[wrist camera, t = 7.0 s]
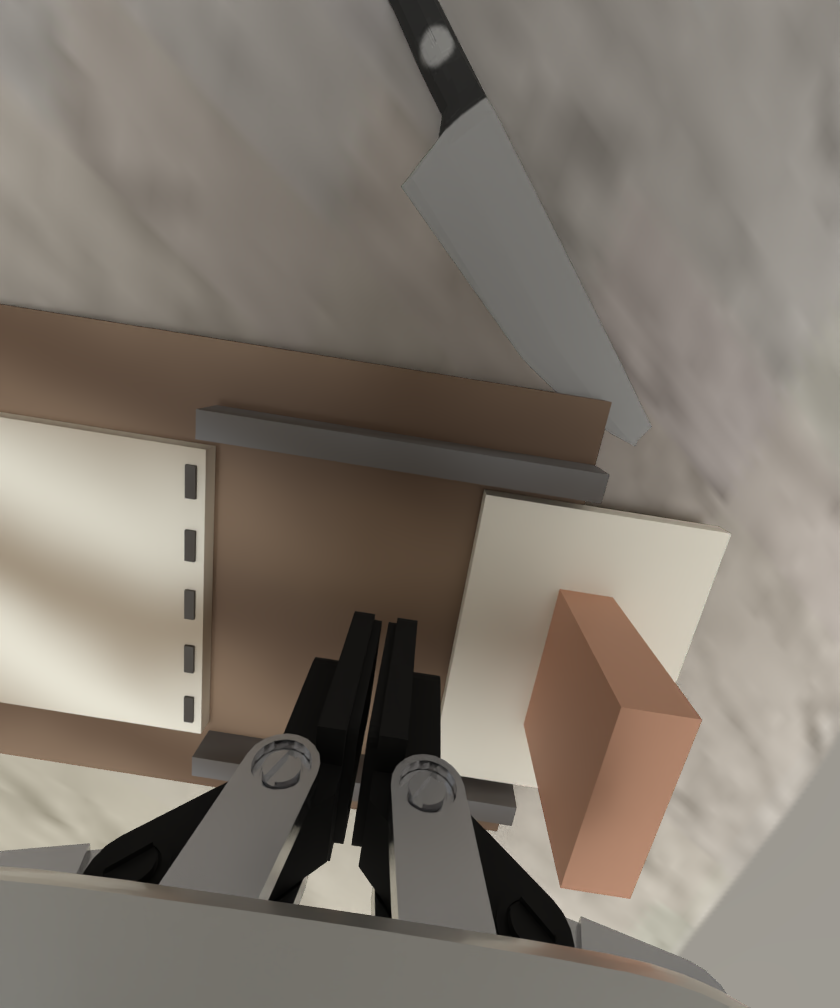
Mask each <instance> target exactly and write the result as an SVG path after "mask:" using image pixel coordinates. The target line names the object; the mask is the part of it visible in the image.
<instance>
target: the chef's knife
mask: <svg viewBox="0 0 840 1008" xmlns="http://www.w3.org/2000/svg"><path fill="white" fill-rule="evenodd" d="M389 2H390V3H391V5H392V7H393V9H394V11H395V13H396V16H397V18H398V20H399V23H400V25H401V27H402V30H403V32H404V34H405V36H406V39H407V41H408V43H409V46H410V48H411V50H412V52H413V55H414V57H415V59H416V62H417V64H418V66H419V69H420V71H421V73H422V75H423V77H424V79H425V81H426V83H427V85H428V87H429V89H430V92H431V94H432V96H433V98H434V100H435V102H436V104H437V106H438V108H439V110H440V112H441V114H442V121H441V127H440V133H439V139H438V140H437V142H436V143H435V144H434V145H433V147H432V148H431V149H430V150H429V152H428V153H427V154H426V155H425V157H424V158H423V159H422V160H421V162H420V163H419V164H418V166H417V167H416V168H415V169H414V171H413V172H412V173H411V175H410V176H409V177H408V179H407V180H406V181H405V182H404V184H403V185H402V186H401V187H402V189H403V190H404V192H405V193H406V194H407V196H408V197H409V199H410V200H411V202H412V203H413V204H414V206H415V207H416V209H417V210H418V212H419V213H420V214H421V216H422V217H423V219H424V220H425V221H426V223H427V224H428V226H429V227H430V229H431V230H432V231H433V233H434V234H435V236H436V237H437V238H438V240H439V241H440V243H441V244H442V246H443V247H444V248H445V250H446V251H447V253H448V254H449V255H450V257H451V258H452V260H453V261H454V263H455V264H456V265H457V267H458V268H459V270H460V271H461V273H462V274H463V275H464V277H465V278H466V280H467V281H468V282H469V284H470V285H471V287H472V288H473V290H474V291H475V292H476V294H477V295H478V297H479V298H480V299H481V301H482V302H483V304H484V305H485V307H486V308H487V309H488V311H489V312H490V314H491V315H492V317H493V318H494V319H495V321H496V322H497V324H498V325H499V326H500V328H501V329H502V331H503V332H504V334H505V335H506V336H507V338H508V339H509V341H510V342H511V343H512V345H513V346H514V348H515V349H516V351H517V352H518V353H519V355H520V356H521V357H522V358H523V359H524V361H525V362H526V363H527V364H528V365H529V366H530V367H531V368H532V369H533V370H534V371H535V372H536V373H537V374H538V375H539V376H540V377H541V378H542V379H543V380H544V381H545V382H546V383H547V384H549V385H550V386H551V387H552V388H553V389H554V390H555V391H556V392H557V393H562V394H568V395H575V396H581V397H587V398H593V399H600V400H605V401H609V402H612V404H611V408H610V412H609V415H608V419H607V423H606V426H605V430H607V431H608V432H609V433H611V434H612V435H614V436H616V437H618V438H620V439H622V440H624V441H626V442H628V443H630V444H632V445H634V446H636V443H637V441H638V440H639V439H640V438H641V437H642V436H643V435H644V434H645V433H646V432H647V431H648V430H649V429H650V428H651V427H652V426H651V424H650V422H649V420H648V418H647V416H646V414H645V412H644V410H643V408H642V406H641V403H640V401H639V399H638V397H637V395H636V393H635V391H634V389H633V387H632V385H631V383H630V381H629V379H628V377H627V375H626V372H625V370H624V368H623V366H622V364H621V362H620V360H619V358H618V356H617V354H616V352H615V350H614V348H613V346H612V344H611V342H610V340H609V338H608V336H607V334H606V332H605V330H604V328H603V326H602V324H601V322H600V320H599V318H598V316H597V314H596V312H595V310H594V308H593V306H592V304H591V302H590V300H589V298H588V296H587V294H586V292H585V290H584V288H583V286H582V284H581V282H580V280H579V278H578V276H577V274H576V272H575V270H574V268H573V266H572V264H571V262H570V260H569V258H568V256H567V254H566V252H565V250H564V248H563V246H562V244H561V242H560V240H559V238H558V236H557V234H556V232H555V230H554V228H553V226H552V224H551V222H550V220H549V218H548V216H547V214H546V212H545V210H544V208H543V206H542V204H541V202H540V200H539V198H538V196H537V194H536V192H535V190H534V188H533V186H532V184H531V182H530V180H529V178H528V176H527V174H526V172H525V170H524V168H523V166H522V164H521V162H520V160H519V158H518V156H517V154H516V152H515V150H514V148H513V146H512V144H511V142H510V140H509V138H508V136H507V134H506V132H505V130H504V128H503V126H502V124H501V122H500V120H499V118H498V116H497V114H496V112H495V110H494V108H493V107H492V105H491V104H490V102H489V101H488V99H487V97H486V95H485V93H484V91H483V89H482V87H481V85H480V83H479V81H478V79H477V77H476V75H475V73H474V71H473V69H472V67H471V65H470V63H469V61H468V59H467V57H466V55H465V53H464V51H463V49H462V47H461V46H460V44H459V42H458V40H457V38H456V36H455V34H454V32H453V30H452V28H451V26H450V24H449V22H448V20H447V18H446V16H445V14H444V12H443V10H442V8H441V6H440V4H439V2H438V0H389Z"/></svg>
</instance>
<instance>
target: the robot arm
mask: <svg viewBox="0 0 840 1008" xmlns="http://www.w3.org/2000/svg"><path fill="white" fill-rule="evenodd" d="M417 623H418V621H417V620H411V619H404V618H397V623H393V622H389V623H388V628H387V634H386V639H385V644H384V650H383V655H382V660H381V666H380V671H379V676H378V682H377V687H376V692H375V697H374V703H373V708H372V713H371V719H370V724H369V730H368V736H367V742H366V749H365V756H364V763H363V769H362V776H361V783H360V790H359V797H358V804H357V811H356V817H355V824H354V831H353V838H352V845H354V846H360V847H362V848H361V854H360V861H359V868H360V869H361V870H362V872H363V873H364V875H365V876H366V878H367V879H368V881H369V882H370V883H371V885H372V886H373V888H372V896H371V915H364V914H358V913H351V912H344V911H338V910H331V909H324V908H317V907H310V906H304V905H299V903H300V901H301V898H302V896H303V893H304V891H305V888H306V883H307V879H308V875H309V874H311V873H312V872H313V871H315V870H316V869H317V868H319V867H320V866H322V865H323V864H324V863H326V862H327V861H330V858H331V853H332V848H333V844H334V843H340V844H343V843H344V838H345V833H346V828H347V823H348V818H349V813H350V808H351V803H352V797H353V792H354V787H355V782H356V777H357V772H358V767H359V762H360V756H361V751H362V746H363V741H364V736H365V731H366V726H367V721H368V715H369V709H370V703H371V696H372V689H373V683H374V676H375V669H376V662H377V655H378V648H379V641H380V634H381V627H382V621H380V620H375V614H372V613H365V612H359V611H355V612H354V615H353V618H352V621H351V624H350V627H349V630H348V633H347V637H346V640H345V643H344V646H343V649H342V652H341V655H340V658H339V660H333V659H326V658H320V657H315V658H314V660H313V662H312V665H311V667H310V670H309V672H308V674H307V677H306V679H305V682H304V684H303V687H302V689H301V692H300V694H299V697H298V699H297V702H296V704H295V706H294V709H293V711H292V714H291V716H290V719H289V721H288V724H287V726H286V729H285V731H284V733H283V734H277V735H274V736H271V737H268V738H265V739H263V740H262V741H260V742H259V743H257V744H256V745H254V747H253V748H252V749H251V750H250V751H249V752H248V753H247V755H246V756H245V758H244V759H243V761H242V762H241V764H240V765H239V766H238V768H237V769H236V771H235V772H234V774H233V775H232V777H231V778H230V780H229V781H228V782H226V783H224V784H222V785H220V786H218V787H216V788H214V789H212V790H210V791H208V792H206V793H204V794H202V795H201V796H199V797H197V798H195V799H193V800H191V801H189V802H187V803H185V804H183V805H181V806H179V807H177V808H175V809H173V810H171V811H169V812H167V813H165V814H163V815H161V816H159V817H157V818H155V819H154V820H152V821H150V822H148V823H146V824H144V825H142V826H140V827H138V828H136V829H134V830H132V831H130V832H128V833H126V834H124V835H122V836H120V837H119V838H117V839H116V840H114V841H113V842H111V843H110V844H108V845H106V846H105V847H104V848H103V849H100V850H90V843H88V844H77V845H65V846H54V847H42V848H30V849H19V850H7V851H0V1008H749V1007H748V1006H746V1005H745V1004H742V1003H741V1002H739V1001H738V1000H736V999H734V998H732V997H731V996H729V995H727V993H726V992H725V991H724V989H723V988H722V986H721V985H720V984H719V983H718V982H717V981H716V980H715V979H714V978H713V977H712V976H711V975H710V974H709V973H707V971H706V970H704V969H703V968H701V967H699V966H698V965H696V964H694V963H692V962H691V961H689V960H686V959H684V958H682V957H679V956H677V955H674V954H672V953H669V952H667V951H665V950H662V949H660V948H657V947H655V946H652V945H650V944H647V943H645V942H642V941H640V940H638V939H635V938H633V937H630V936H628V935H625V934H623V933H620V932H618V931H616V930H613V929H611V928H608V927H606V926H603V925H601V924H598V923H596V922H593V921H591V920H589V919H586V918H584V917H580V920H579V922H575V921H573V920H571V919H568V918H566V917H565V916H564V914H563V912H562V911H561V910H560V908H559V907H558V906H557V904H556V903H555V902H554V901H553V899H552V898H551V897H550V896H549V895H548V894H547V893H546V892H545V891H544V890H543V889H542V888H541V887H540V886H539V885H538V884H537V883H536V882H535V881H534V880H533V879H532V878H531V877H530V876H529V875H528V874H527V872H526V871H525V870H524V869H523V868H522V867H521V866H520V865H519V864H518V863H517V862H516V861H515V860H514V859H513V858H512V857H511V856H510V855H509V854H508V853H507V852H506V851H505V850H504V849H503V848H502V847H501V846H500V844H499V843H498V842H497V841H496V840H495V839H494V838H493V837H492V836H491V835H490V834H489V833H488V832H487V831H486V830H485V829H484V828H483V827H482V826H481V825H480V824H479V823H478V822H477V821H476V820H475V819H474V817H473V816H472V815H471V814H470V810H469V805H468V801H467V796H466V792H465V787H464V784H463V781H462V779H461V776H460V775H459V773H458V772H457V771H456V769H455V768H454V767H453V766H452V765H450V764H449V763H448V762H446V761H445V760H443V759H441V681H440V676H437V675H431V674H424V673H418V672H414V660H415V647H416V635H417Z"/></svg>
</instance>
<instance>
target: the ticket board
mask: <svg viewBox="0 0 840 1008" xmlns="http://www.w3.org/2000/svg"><path fill="white" fill-rule="evenodd" d="M611 404H612V402H609V401H605V400H600V399H593V398H587V397H581V396H575V395H568V394H562V393H556V392H549V391H543V390H537V389H531V388H524V387H518V386H512V385H505V384H499V383H493V382H487V381H480V380H474V379H468V378H462V377H455V376H449V375H443V374H436V373H430V372H424V371H418V370H411V369H405V368H399V367H393V366H386V365H380V364H374V363H367V362H361V361H355V360H349V359H342V358H336V357H330V356H323V355H317V354H311V353H305V352H298V351H292V350H286V349H280V348H273V347H267V346H261V345H254V344H248V343H242V342H236V341H229V340H223V339H217V338H210V337H204V336H198V335H192V334H185V333H179V332H173V331H167V330H160V329H154V328H148V327H141V326H135V325H129V324H123V323H116V322H110V321H104V320H97V319H91V318H85V317H79V316H72V315H66V314H60V313H54V312H47V311H41V310H35V309H28V308H22V307H16V306H10V305H3V304H0V753H2V754H9V755H15V756H21V757H28V758H34V759H40V760H47V761H53V762H59V763H66V764H72V765H78V766H85V767H91V768H98V769H104V770H110V771H117V772H123V773H129V774H136V775H142V776H148V777H155V778H161V779H167V780H174V781H180V782H187V783H193V784H199V785H206V786H212V787H218V786H220V785H222V784H224V783H226V782H228V781H229V780H230V778H231V777H232V775H233V774H234V772H235V771H236V769H237V768H238V766H239V765H240V764H241V762H242V761H243V759H244V758H245V756H246V755H247V753H248V752H249V751H250V750H251V749H252V748H253V747H254V745H256V744H257V743H259V742H260V741H262V740H263V739H265V738H268V737H271V736H274V735H277V734H283V733H284V731H285V729H286V726H287V724H288V721H289V719H290V716H291V714H292V711H293V709H294V706H295V704H296V702H297V699H298V697H299V694H300V692H301V689H302V687H303V684H304V682H305V679H306V677H307V674H308V672H309V670H310V667H311V665H312V662H313V660H314V658H315V657H320V658H326V659H333V660H339V658H340V655H341V652H342V649H343V646H344V643H345V640H346V637H347V633H348V630H349V627H350V624H351V621H352V618H353V615H354V612H355V611H359V612H365V613H372V614H375V620H380V621H382V627H381V634H380V641H379V648H378V655H377V662H376V669H375V676H374V683H373V689H372V696H371V703H370V709H369V715H368V721H367V726H366V731H365V736H364V741H363V746H362V751H361V756H360V762H359V767H358V772H357V777H356V782H355V787H354V792H353V797H352V803H351V808H352V809H357V804H358V797H359V790H360V783H361V776H362V769H363V763H364V756H365V749H366V742H367V736H368V730H369V724H370V719H371V713H372V708H373V703H374V697H375V692H376V687H377V682H378V676H379V671H380V666H381V660H382V655H383V650H384V644H385V639H386V634H387V628H388V623H389V622H393V623H397V618H404V619H411V620H417V621H418V623H417V635H416V647H415V660H414V672H418V673H424V674H431V675H437V676H440V681H441V703H442V698H443V693H444V688H445V683H446V678H447V673H448V668H449V663H450V658H451V653H452V648H453V643H454V638H455V633H456V628H457V623H458V618H459V613H460V608H461V603H462V598H463V593H464V588H465V583H466V578H467V573H468V568H469V563H470V558H471V553H472V548H473V543H474V538H475V533H476V528H477V523H478V518H479V513H480V508H481V503H482V498H483V493H484V489H486V490H492V491H499V492H505V493H511V494H518V495H524V496H530V497H536V498H543V499H549V500H555V501H562V502H568V503H574V504H581V505H585V501H588V502H594V503H602V500H603V496H604V492H605V489H606V485H607V482H608V478H609V474H607V473H606V472H604V471H603V470H601V469H600V468H598V467H597V466H595V464H596V460H597V456H598V453H599V449H600V445H601V441H602V438H603V434H604V430H605V426H606V423H607V419H608V415H609V412H610V408H611ZM461 779H462V781H463V784H464V787H465V792H466V796H467V801H468V805H469V810H470V814H471V815H472V816H473V817H474V819H475V820H476V821H477V822H478V823H479V824H480V825H481V826H482V827H483V828H484V829H485V830H492V831H497V830H498V826H499V824H503V825H509V826H512V822H513V819H514V815H515V812H516V802H515V796H514V790H513V784H508V783H502V782H496V781H489V780H483V779H477V778H470V777H464V776H461Z"/></svg>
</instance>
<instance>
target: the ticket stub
mask: <svg viewBox="0 0 840 1008" xmlns="http://www.w3.org/2000/svg"><path fill="white" fill-rule="evenodd" d="M730 536H731V533H729V532H728V531H726V530H724V529H723V528H721V527H719V526H713V525H706V524H700V523H694V522H688V521H681V520H675V519H669V518H662V517H656V516H650V515H643V514H637V513H631V512H625V511H618V510H612V509H606V508H599V507H593V506H587V505H581V504H574V503H568V502H562V501H555V500H549V499H543V498H536V497H530V496H524V495H518V494H511V493H505V492H499V491H492V490H486V489H484V493H483V498H482V503H481V508H480V513H479V518H478V523H477V528H476V533H475V538H474V543H473V548H472V553H471V558H470V563H469V568H468V573H467V578H466V583H465V588H464V593H463V598H462V603H461V608H460V613H459V618H458V623H457V628H456V633H455V638H454V643H453V648H452V653H451V658H450V663H449V668H448V673H447V678H446V683H445V688H444V693H443V698H442V703H441V759H443V760H445V761H446V762H448V763H449V764H450V765H452V766H453V767H454V768H455V769H456V771H457V772H458V773H459V775H460V776H464V777H470V778H477V779H483V780H489V781H496V782H502V783H508V784H515V785H521V786H527V787H534V788H538V791H539V795H540V800H541V804H542V809H543V813H544V817H545V822H546V826H547V831H548V835H549V840H550V844H551V848H552V853H553V857H554V862H555V866H556V871H557V875H558V879H559V884H560V888H565V889H571V890H577V891H584V892H590V893H596V894H603V895H609V896H616V897H622V898H628V899H630V898H631V895H632V893H633V890H634V888H635V886H636V883H637V881H638V878H639V876H640V873H641V871H642V868H643V866H644V863H645V861H646V858H647V856H648V853H649V851H650V848H651V846H652V843H653V841H654V838H655V836H656V833H657V831H658V828H659V826H660V823H661V821H662V818H663V816H664V813H665V811H666V808H667V806H668V804H669V801H670V799H671V796H672V794H673V791H674V789H675V786H676V784H677V781H678V779H679V776H680V774H681V771H682V769H683V766H684V764H685V761H686V759H687V756H688V754H689V751H690V749H691V746H692V744H693V741H694V739H695V736H696V734H697V731H698V729H699V727H700V724H701V722H702V719H701V718H700V716H699V715H698V714H697V712H696V711H695V709H694V708H693V707H692V705H691V704H690V703H689V701H688V700H687V698H686V697H685V696H684V694H683V693H682V692H681V690H680V689H679V687H678V686H677V685H676V681H677V679H678V676H679V673H680V671H681V668H682V665H683V662H684V660H685V657H686V654H687V652H688V649H689V646H690V644H691V641H692V638H693V636H694V633H695V630H696V627H697V625H698V622H699V619H700V617H701V614H702V611H703V609H704V606H705V603H706V601H707V598H708V595H709V593H710V590H711V587H712V584H713V582H714V579H715V576H716V574H717V571H718V568H719V566H720V563H721V560H722V558H723V555H724V552H725V549H726V547H727V544H728V541H729V539H730Z"/></svg>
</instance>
